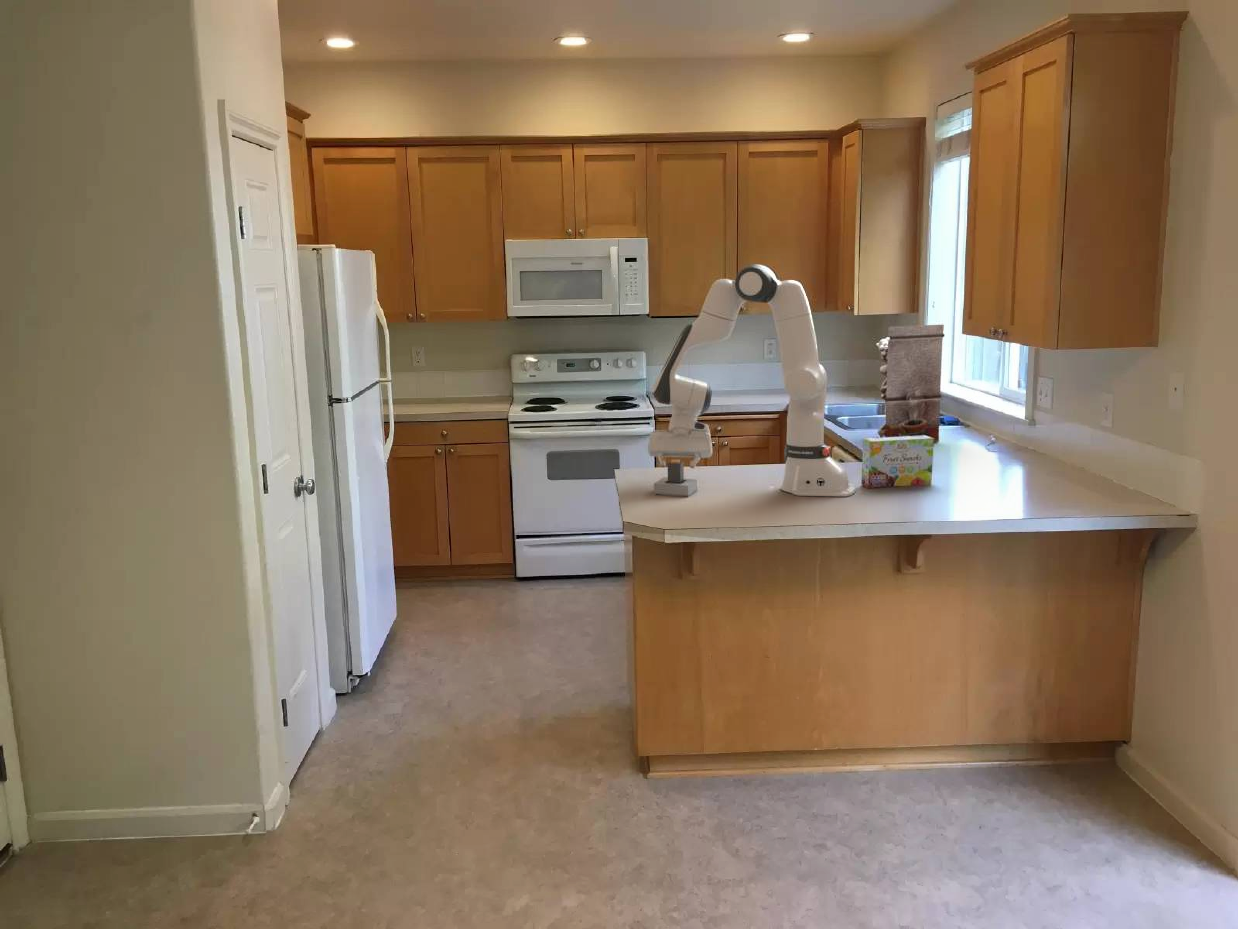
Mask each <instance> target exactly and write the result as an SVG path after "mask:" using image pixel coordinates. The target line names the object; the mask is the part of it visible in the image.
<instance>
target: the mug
mask: <svg viewBox="0 0 1238 929" xmlns="http://www.w3.org/2000/svg"><path fill="white" fill-rule="evenodd" d="M926 423H927V421H926V420H924V419H920V418H919V419H910V420H906V421H904V422H903V423H901V424H900V427H899V426H891V425H886V426H885V429H886V430H889V431H890V434H891V437H896V436H895V433H894V430H898V431H900V433H901V434H899V437H903V436H923V435H924V434H925V426H926Z"/></svg>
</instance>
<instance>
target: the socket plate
mask: <svg viewBox="0 0 1238 929" xmlns="http://www.w3.org/2000/svg"><path fill="white" fill-rule="evenodd" d="M697 491H698V479H696V478H693V479H692V478H684V483H682V484H675V483H668V477H661V478H660V479H659V480H657V481H655V482H654V483H653V495H654V494H661V495H660V496H667V495H669V497H681V496H687V497H686V498H689V497H690V496H692V495H693V494H695V493H697ZM688 496H689V497H688Z"/></svg>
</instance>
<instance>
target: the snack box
mask: <svg viewBox="0 0 1238 929" xmlns="http://www.w3.org/2000/svg"><path fill="white" fill-rule="evenodd" d="M863 438H864V439H863ZM863 438H862V440H863V441H862V461H861V462H862V463H861V481H860V484H861V486H863V487H865V486H866V487H865V488H866V489H875V488H874V487H881V488H892V487H891V486H899V487H914V485H915V486H928V485H929V484H930V485H932V479H933V478H932V477H933V476H932V475H933V463H934V462H933V461H934V447H935V446H934V445H935V442H934V438H931V437H929V436H925V435H923V436H903V437H883V438H872V437H863ZM930 485H929V486H930ZM889 486H890V487H889Z"/></svg>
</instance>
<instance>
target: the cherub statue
mask: <svg viewBox="0 0 1238 929" xmlns="http://www.w3.org/2000/svg"><path fill="white" fill-rule="evenodd" d="M944 327H945V325H944V324H924V325H923V324H922V325H899V326H898V325H897V326H896V325H895V326H888V336H887V337H886V338H882V339H881V340H879V342H877V343H876V347H877V348H878V350H879V353H880V356H881V360H882V361H884V362H885V363H886V364H884V365H881V366H880V368H879V372H880V373H881V374H882V375H883V376H885V377H886V379H885V380H884V381H883V382H882V384H881V387H880V390H879V391H880V393H881V397H880V398H881V399H883V400H884V403H885V405H884V409H883V410H884V415H885V421H884V423H883V424H882V425H881V427H879V429H878V430H877V434H878V437H880V438H883V437H891V434H890V431H889V430H886V429H885V426H886V425H891V426H899V427H900V424H901V423H903V422H904V421H906V420H910V419H919V418H920V419H924V420H926V421H927V423H926V426H925V434H924V435H925V436H929V437H931V438H934V443H939V442H940V440H939V439H940V434H939V433H940V421H941V419H940V418H941V417H940V416H941V413H940V410H941V399H942V394H941V386H942V383H941V378H942V377H941V376H942V360H943V359H942V355H943V354H942V353H943V340H944V337H945V334H944ZM894 433H895V436H896V437H899V434H901V433H900V431H898V430H894Z"/></svg>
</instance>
